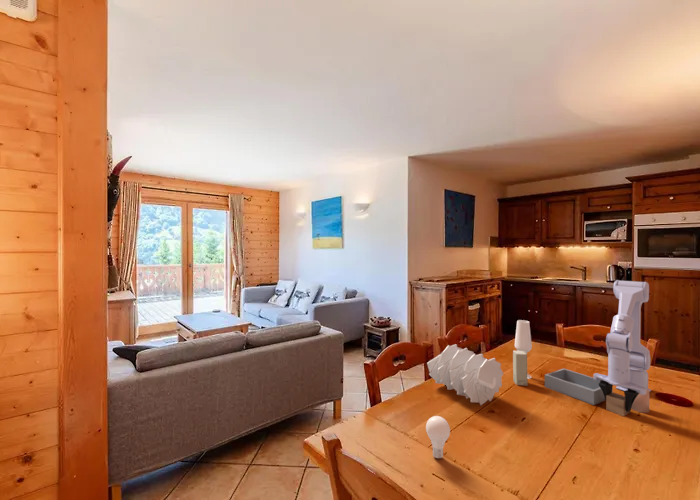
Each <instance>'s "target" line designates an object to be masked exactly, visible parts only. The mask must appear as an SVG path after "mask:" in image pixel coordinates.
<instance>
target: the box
mask: <svg viewBox="0 0 700 500" xmlns="http://www.w3.org/2000/svg"><path fill="white" fill-rule="evenodd" d="M512 374H513V375H512V378H513V379H512V380H513V382H514V384H515V385H517V386H528V379H527V374H528V353H525V352H524V351H518V350H512Z"/></svg>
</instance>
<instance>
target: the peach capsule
mask: <svg viewBox="0 0 700 500" xmlns="http://www.w3.org/2000/svg"><path fill="white" fill-rule="evenodd" d="M631 410H633V411H635V412H638V413H643V414H648V413H650V392H649V390H647V389H646V394H645V395H642V394H640V393H639V394H638V396H637V397H636V398H635V400H634V402H633V404H632V407H631Z"/></svg>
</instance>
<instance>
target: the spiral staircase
mask: <svg viewBox="0 0 700 500" xmlns="http://www.w3.org/2000/svg"><path fill="white" fill-rule="evenodd" d="M426 365H427V369H428V372H429V373H428V375H429V376H430V377H431V378H432V379H433V380H434V381H435V382H434V383H435V384H441V385H442V384H443V386H444V385H446V386H445V387H447V388H446V389H447V390H454V391H456V395H458V396H464V397H465V399H466V400H467V399H468V398H469V399H470V403H479V405H480V406H483V404H485V403H486V402H487V401H489V402H492V400H493V398H494V396H495V393H499V390H500V388H502V386H503V382H502V377H503V376H504V371H503V370H502V368H501V366H502V363H500V361H497V360H496V358H495V357H493V358H489V359H487V358H485V357H484V355H483V353H479V354H476V353H474V351H472V350H468V348H467V347H465V348H461V347H458V344H456V343H455V344H452V345H449V344H447V346H446V347H445V349H444V350H443V351H441V352H440V354H438V355H436V356H435V357H434V358H432V359H430V360H429V361H428V362H426Z"/></svg>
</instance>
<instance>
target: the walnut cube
mask: <svg viewBox="0 0 700 500" xmlns="http://www.w3.org/2000/svg"><path fill="white" fill-rule="evenodd" d="M605 403H606V404H605V405H606V406H605V408H606V409H605V410H606V411H609V412H612V413H614V414H616V415H619V416H622V417H626V416H627V415H628V414H630V413H631V411H629V412H627V411H626V409H625V404H626V401H625V395H623V394H621V393H616V392H612V393H611V394H609V395H607V396H606V400H605Z"/></svg>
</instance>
